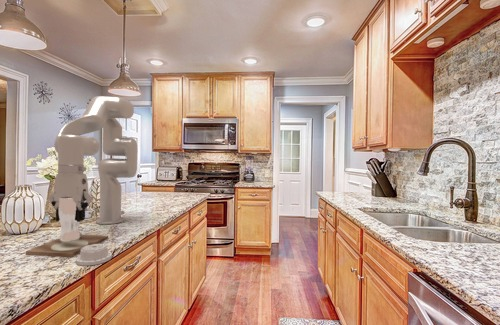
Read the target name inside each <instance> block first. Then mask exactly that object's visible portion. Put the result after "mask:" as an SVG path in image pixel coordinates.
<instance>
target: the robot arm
mask: <svg viewBox="0 0 500 325" xmlns="http://www.w3.org/2000/svg"><path fill="white" fill-rule="evenodd" d="M134 110H135V108H134V106H133V103H132V102H131V101H130V100H127V99H125V98H123V97H120V96H107V95H97V96H94V97H92V98H91V100H90V102H89V103H88V105H87V107H86V109H85V111H84V113H83V114H82V116H79V117H77V118H75V119H73V120H72V121H69V122H67V123H66V124H64V125H63V126H62V127H61V128H60V130H59V131H58V133H57V135H56V137H55V140H54V145H53V146H54V150H55V152H56V153H57V164H58V165H57V173H56V175H55V178H54V179H55V180H54V184H53V185H54V186H53V192H52V193H51V194H50V195H49V196H48V197H47V199H48V201H49V202H50V204H51V205H52V206H53V209H54V210H55V221H57V222H60V220H59V214H58V206H59V198H73V201H74V202H75V203H76V205H77V207H78V209H79V210H77V222H80V223H81V222H82V221H85V220H86V219H85V218H86V209H87V208H88V207H89V206H90V205H91V203H92V202H93V201H94V198H93V197H92V196H91V195H90V194H89V184H88V177H87V174H86V173H84V172H86V171H87V167H86V166H84V164H85V163H84V162H85V161H84V159H85V158H84V157H89V156H90V157H92V156H94V155H96V154H97V153H98V152H99V151H100V142H99V140H98V139H97V138H95V137H93V136H89V135H87V134H91V133H94V132H97V131H101V130H102V129H103V130H102V131H103V132H102V153H103V154H105V155H106V156H110V157H111V156H113V157H126V158H112V157H111V158H104V159H101V160H100V161H99V162H98V163H97V164H98V165H97V170H98V176H99V218H97V219H96V220H95V223H96V224H98V225H115V224H119V223H123V222H124V221H125V217H123V216H122V215H124V214H125V210H122V185H121V183H120V181H119V180H118V179H119V178H121V179H122V178H123V179H125V178H126V179H128V178H130V179H131V178H134V177H135V176H136V175H137V171H138V170H137V169H138V142H137V140H136V139H135V138H134V137H128V136H123V126H122V124H121V123H120V122H119V121H118V120H117V119H126V120H127V119H128V120H129V119H131V118H132V117H133V116H134V113H135V111H134ZM117 178H118V179H117Z"/></svg>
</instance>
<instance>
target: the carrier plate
mask: <svg viewBox="0 0 500 325" xmlns="http://www.w3.org/2000/svg"><path fill="white" fill-rule="evenodd" d="M108 239H109V235H103V234H100V235H99V234H83V233H82V232H80V239H78V240H75V241H68V242H62V241H60V237H59V238H56V239H54V240H52V241H49V242H47V243H44V244H43V243H42V244H41V245H39V246H36V247H33V248H30V249H28V250H26V251H25V256H43V257H58V258H59V257H62V258H73V257H75V256H77V255H79V254H80V253H81V249H82V247H84V246H87V245H93V244H102V243H103V242H104V241H106V240H108Z"/></svg>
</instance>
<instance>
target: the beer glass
mask: <svg viewBox="0 0 500 325" xmlns="http://www.w3.org/2000/svg"><path fill="white" fill-rule="evenodd" d="M77 210H79V209H78V207H77V205H76V203H75V202H74V201H73V198H59V206H58V214H59V223H60V230H61V231H60V236H59V238H60V241H62V242H68V241H75V240H78V239H80V233H81V232H80V224H81V221H80V222H77Z"/></svg>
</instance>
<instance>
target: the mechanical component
mask: <svg viewBox="0 0 500 325" xmlns="http://www.w3.org/2000/svg"><path fill="white" fill-rule="evenodd" d="M79 254H80V255H78V256H77V257H76V258H75V264H76V265H77V266H83V267H85V266H87V267H88V266H89V267H90V266H94V265H95V266H96V265H101V264H104V263H106V262H108V261H110V260H111V259H112V258H113V256H112V255H113V254H112V252H111V251H109V246H108V245H107V244H106V243H99V244H93V245H87V246H84V247H82V249H81V253H79Z"/></svg>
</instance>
